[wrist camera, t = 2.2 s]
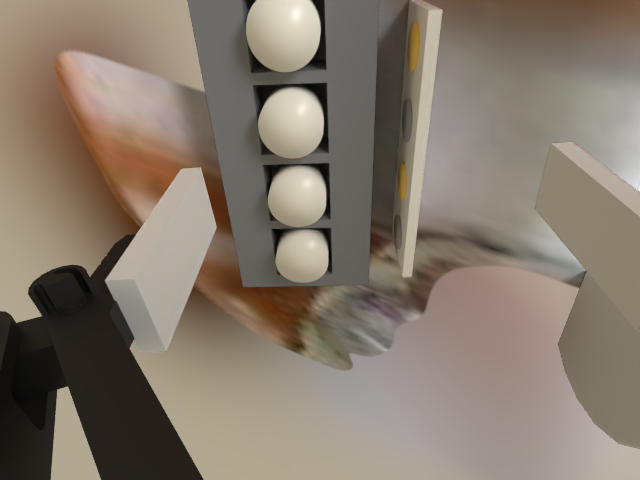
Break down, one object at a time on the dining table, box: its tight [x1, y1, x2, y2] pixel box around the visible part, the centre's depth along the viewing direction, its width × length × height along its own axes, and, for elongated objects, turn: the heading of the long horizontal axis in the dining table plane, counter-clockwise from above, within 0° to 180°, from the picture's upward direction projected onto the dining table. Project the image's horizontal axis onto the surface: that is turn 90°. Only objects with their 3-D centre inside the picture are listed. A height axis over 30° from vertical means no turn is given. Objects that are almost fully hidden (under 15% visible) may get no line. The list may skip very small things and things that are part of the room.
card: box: [392, 0, 443, 277], centre depth 32 cm, size 20×1×7 cm, turn 2°
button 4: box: [275, 228, 328, 283], centre depth 37 cm, size 5×5×3 cm
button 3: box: [268, 163, 326, 227], centre depth 33 cm, size 5×5×3 cm
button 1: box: [246, 0, 321, 72], centre depth 26 cm, size 5×5×3 cm
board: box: [187, 0, 379, 287], centre depth 33 cm, size 26×12×4 cm, turn 2°
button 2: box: [258, 84, 324, 159], centre depth 30 cm, size 5×5×3 cm
